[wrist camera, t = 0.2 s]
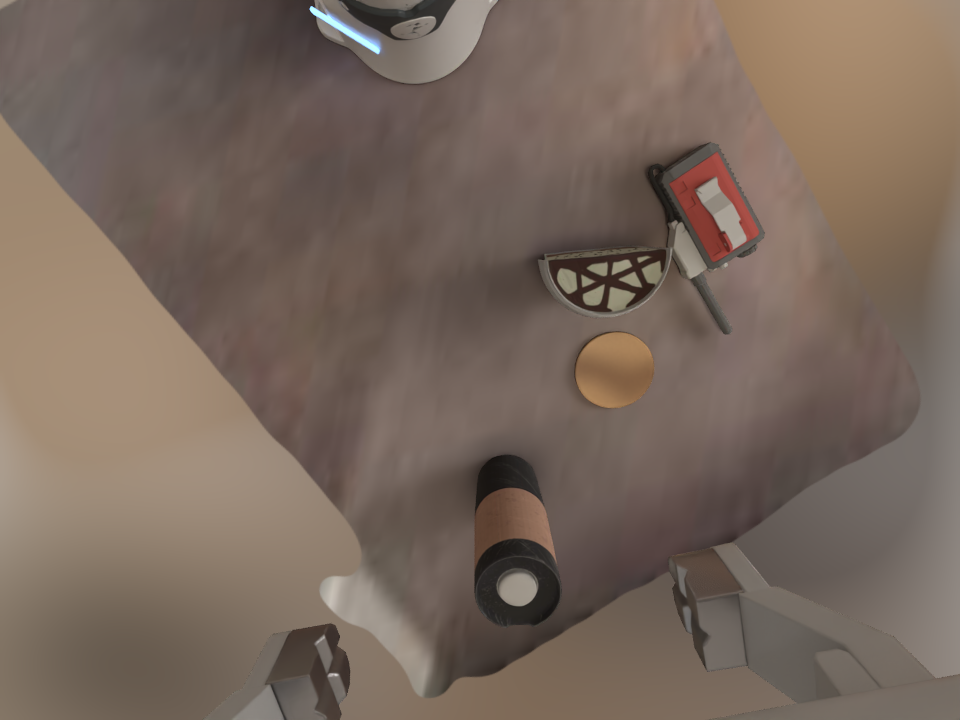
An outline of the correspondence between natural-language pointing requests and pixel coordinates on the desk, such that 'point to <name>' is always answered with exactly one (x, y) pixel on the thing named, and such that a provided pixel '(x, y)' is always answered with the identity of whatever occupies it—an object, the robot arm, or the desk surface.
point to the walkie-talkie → (706, 218)
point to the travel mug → (513, 546)
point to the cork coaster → (614, 369)
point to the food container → (605, 278)
